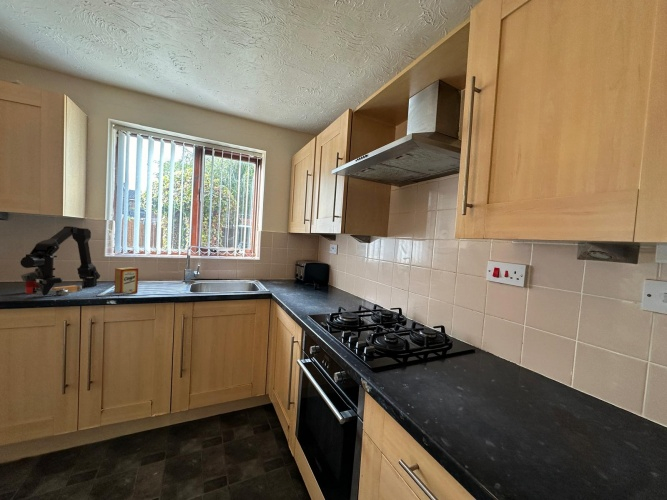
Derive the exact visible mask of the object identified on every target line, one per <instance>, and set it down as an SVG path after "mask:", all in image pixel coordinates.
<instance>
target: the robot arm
mask: <svg viewBox="0 0 667 500" xmlns="http://www.w3.org/2000/svg"><path fill="white" fill-rule="evenodd" d="M71 236H72V239H73V240H74V241H75V242H76V244H77V249H78V254H79V260H80V265H79V266H78V267H77V275H78V277H79V279H80V280H82V281H81V285H80V286H82V288H93V287H94V288H95V287H97V284H98V280H99V279H100V277H101V274H100V273H99V272H98V270H97V268H96V266H95V265H94V264H93V262H92V258H91V252H90V246H89V241H90V239H91V236H92V233H91V230H90V229H89V228H84V227H82V228H81V227H77V226H72V225H65V226H63V228H62V229H61V230H60V231H57V233H56V234H54V235H53V236H51V237H50V238H48V239H44V240H41V241H39V242H37V243H36V244H35V246H34V247H33V248H32V250H31V251H30V253H26V254H25V256H24V257H22V258H21V260H20V261H19V262H20V265H21V267H23V268H24V269H31V268H35V269H34V271H32V272H26V273H24V274H22V275H20V278H21V280H22V281H23V282H25V281H26V282H29V281H33V280H36V282H35V284H37V285H39V286H40V288H41V291H42V293H43V295H42V296H48V295H47V294H48V292H49V291H50V289H52V288H54V285H56V284H62V283H63V278H62V277H58V276H56V275H55V274H54V271H56V268H55V267H54V258H57V257H58V255H56V254H55V253H57V251H58V250H59V249H60V245H61V244H63V242H65V241H66V240H68V239H69V238H70V237H71Z"/></svg>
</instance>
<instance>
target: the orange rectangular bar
mask: <svg viewBox="0 0 667 500" xmlns="http://www.w3.org/2000/svg"><path fill="white" fill-rule="evenodd" d="M77 286H78V285H74V284H73V285H67V286H66V285H64V286H56V287H54V286H53V287H52V288H51V289H52V290H60V289H65V290H69V291H77ZM77 292H78V291H77Z"/></svg>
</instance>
